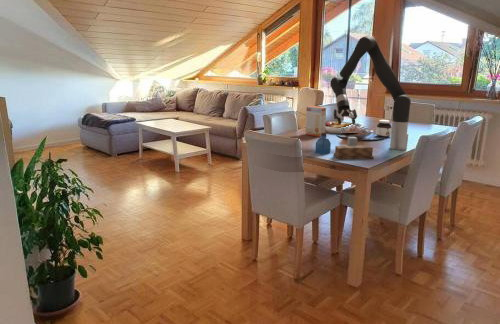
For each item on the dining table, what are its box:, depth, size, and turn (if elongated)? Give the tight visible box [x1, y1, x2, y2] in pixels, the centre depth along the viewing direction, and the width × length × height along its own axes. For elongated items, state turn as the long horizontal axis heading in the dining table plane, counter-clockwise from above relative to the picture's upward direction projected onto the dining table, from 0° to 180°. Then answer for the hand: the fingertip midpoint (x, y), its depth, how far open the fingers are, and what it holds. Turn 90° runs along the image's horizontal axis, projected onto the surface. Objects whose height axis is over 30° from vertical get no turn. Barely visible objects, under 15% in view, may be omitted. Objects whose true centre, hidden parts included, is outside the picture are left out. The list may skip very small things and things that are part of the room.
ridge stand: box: [333, 145, 375, 160], centre depth 223 cm, size 20×10×6 cm, turn 95°
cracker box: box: [305, 105, 327, 138], centre depth 281 cm, size 14×6×21 cm, turn 40°
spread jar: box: [375, 119, 392, 138], centre depth 281 cm, size 12×11×12 cm
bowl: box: [325, 120, 352, 135], centre depth 300 cm, size 30×30×8 cm
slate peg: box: [346, 136, 359, 146], centre depth 234 cm, size 4×4×9 cm
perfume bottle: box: [314, 132, 332, 155], centre depth 231 cm, size 6×6×12 cm
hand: (347, 123), depth 243 cm, fingers open, 8 cm apart
